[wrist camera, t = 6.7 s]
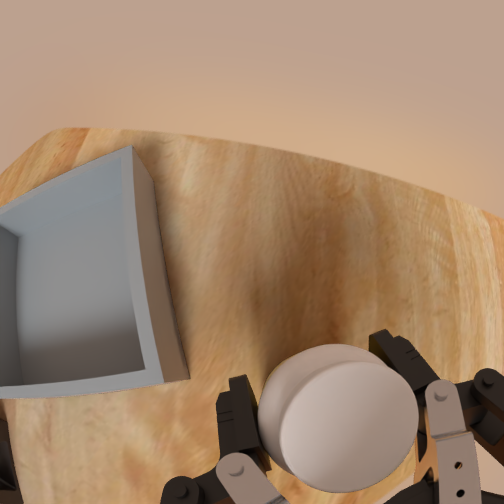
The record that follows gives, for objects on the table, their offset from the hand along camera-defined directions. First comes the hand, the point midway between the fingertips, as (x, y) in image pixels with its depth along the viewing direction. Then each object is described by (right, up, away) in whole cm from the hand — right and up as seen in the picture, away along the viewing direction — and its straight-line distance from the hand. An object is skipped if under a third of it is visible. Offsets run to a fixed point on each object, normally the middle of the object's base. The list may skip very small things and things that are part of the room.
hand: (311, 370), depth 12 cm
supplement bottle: (+1, -3, +4) cm, 5 cm away
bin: (-15, +2, +7) cm, 17 cm away
